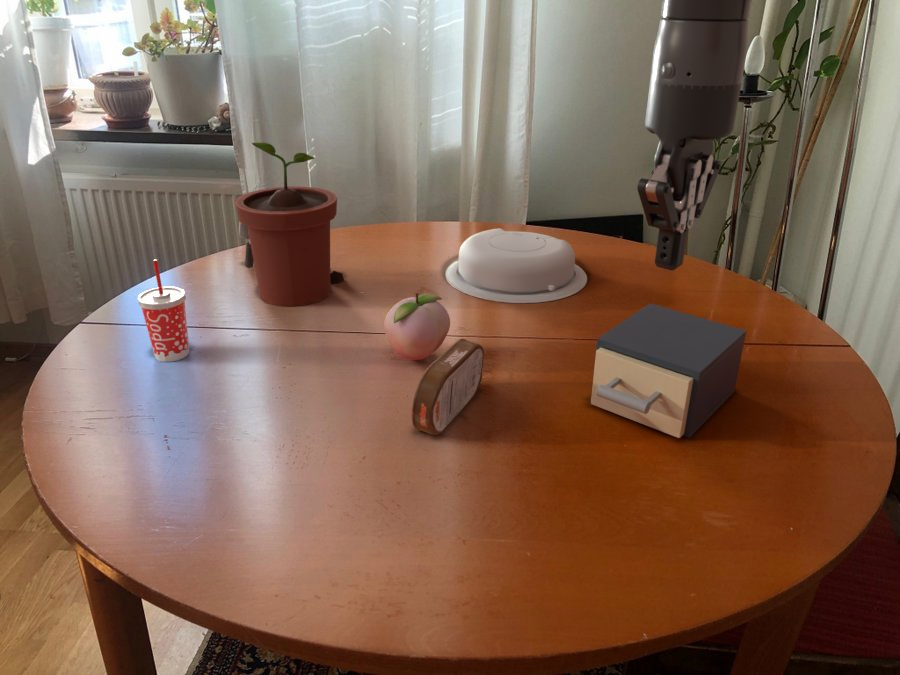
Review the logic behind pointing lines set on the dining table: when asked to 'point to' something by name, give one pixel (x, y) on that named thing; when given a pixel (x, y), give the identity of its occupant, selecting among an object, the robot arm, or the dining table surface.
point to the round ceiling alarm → (516, 267)
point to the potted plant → (289, 239)
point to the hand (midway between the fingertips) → (668, 266)
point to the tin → (447, 386)
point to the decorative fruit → (417, 326)
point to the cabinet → (684, 353)
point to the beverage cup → (165, 320)
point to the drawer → (641, 391)
